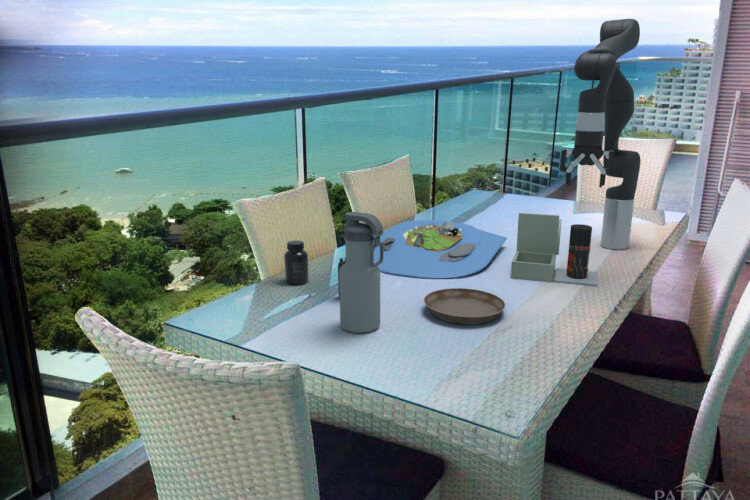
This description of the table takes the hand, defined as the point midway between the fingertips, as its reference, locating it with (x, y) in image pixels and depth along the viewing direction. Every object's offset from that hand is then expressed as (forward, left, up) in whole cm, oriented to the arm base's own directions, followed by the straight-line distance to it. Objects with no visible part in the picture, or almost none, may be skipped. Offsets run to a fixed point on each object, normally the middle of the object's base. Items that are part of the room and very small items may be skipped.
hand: (584, 186), depth 181 cm
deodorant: (0, 0, -27) cm, 27 cm away
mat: (0, 0, -28) cm, 28 cm away
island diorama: (-7, -47, -28) cm, 55 cm away
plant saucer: (+37, -27, -28) cm, 53 cm away
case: (0, -13, -28) cm, 30 cm away
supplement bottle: (+29, -78, -28) cm, 87 cm away
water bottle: (+54, -49, -28) cm, 78 cm away
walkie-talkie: (+37, -59, -28) cm, 75 cm away
